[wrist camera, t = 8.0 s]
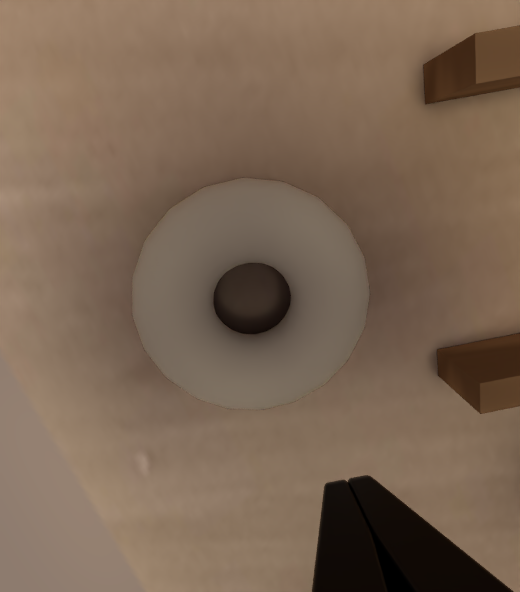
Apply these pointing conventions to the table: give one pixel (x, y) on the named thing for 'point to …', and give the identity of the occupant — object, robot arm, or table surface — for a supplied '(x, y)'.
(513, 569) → the table surface
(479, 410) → the carrier cradle
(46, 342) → the table surface
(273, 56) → the table surface
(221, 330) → the donut
